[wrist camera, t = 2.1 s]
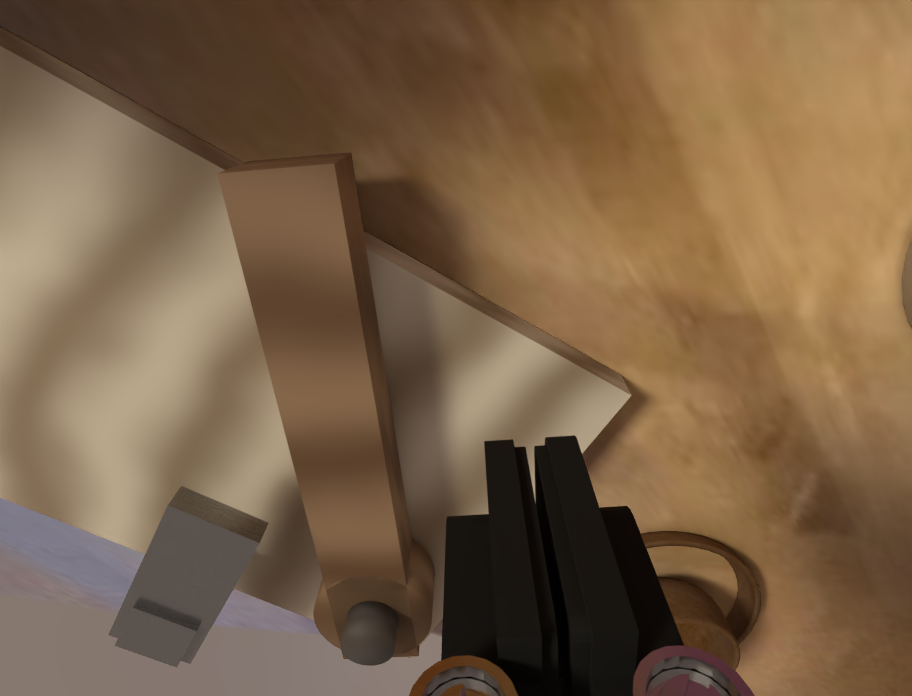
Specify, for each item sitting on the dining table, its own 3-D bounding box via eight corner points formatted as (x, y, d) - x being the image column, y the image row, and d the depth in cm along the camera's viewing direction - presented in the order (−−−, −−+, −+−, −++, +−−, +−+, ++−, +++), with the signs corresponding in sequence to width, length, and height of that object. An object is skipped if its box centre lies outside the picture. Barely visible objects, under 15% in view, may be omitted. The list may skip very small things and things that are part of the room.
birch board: (620, 374, 28) (631, 395, 26) (412, 628, 36) (409, 657, 34) (-53, -3, 21) (-101, -11, 19) (-115, 415, 30) (-153, 437, 28)
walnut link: (439, 606, 32) (435, 685, 28) (337, 610, 32) (318, 689, 28) (376, 150, 21) (355, 168, 17) (223, 163, 21) (165, 184, 17)
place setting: (814, 610, 36) (874, 703, 30) (584, 743, 42) (601, 838, 37) (634, 461, 31) (668, 541, 26) (407, 638, 38) (397, 730, 32)
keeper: (304, 442, 30) (257, 548, 23) (243, 551, 34) (186, 670, 27) (234, 410, 29) (164, 510, 22) (179, 525, 33) (104, 641, 26)
